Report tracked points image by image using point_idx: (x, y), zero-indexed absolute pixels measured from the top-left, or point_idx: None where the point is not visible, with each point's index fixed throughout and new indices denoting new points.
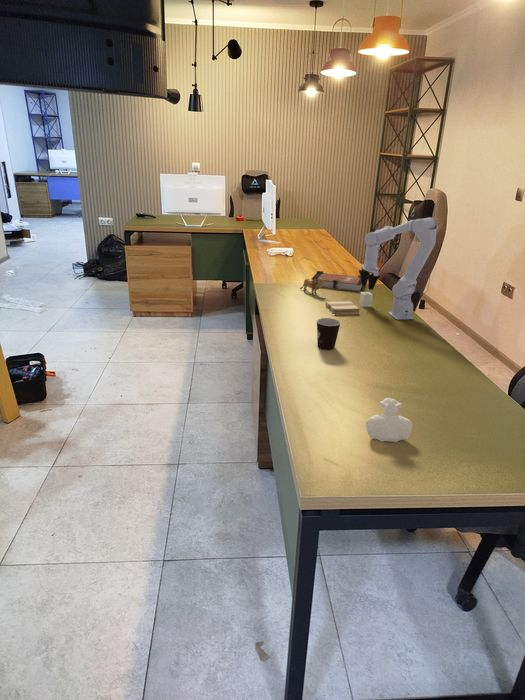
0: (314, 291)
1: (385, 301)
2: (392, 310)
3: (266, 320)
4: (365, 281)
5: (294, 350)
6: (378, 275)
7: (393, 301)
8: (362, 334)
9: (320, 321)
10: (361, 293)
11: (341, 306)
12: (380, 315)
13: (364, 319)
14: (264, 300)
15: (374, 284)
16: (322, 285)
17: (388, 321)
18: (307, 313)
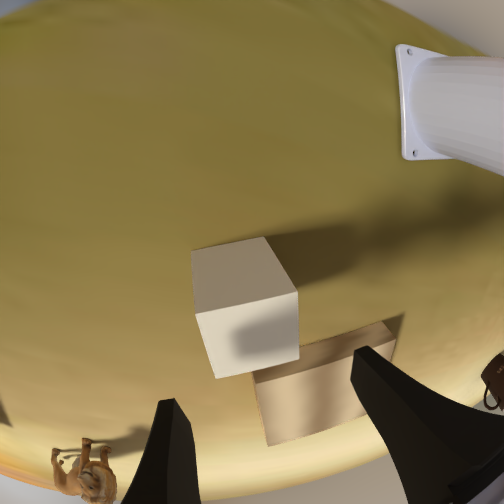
0: (88, 452)
1: (99, 78)
2: (455, 158)
3: (354, 467)
4: (181, 444)
5: (473, 396)
6: (498, 452)
7: (495, 171)
8: (498, 310)
9: (501, 406)
10: (240, 370)
11: (345, 402)
12: (421, 217)
13: (437, 301)
14: (213, 498)
15: (409, 383)
16: (88, 469)
17: (477, 205)
18: (330, 443)
